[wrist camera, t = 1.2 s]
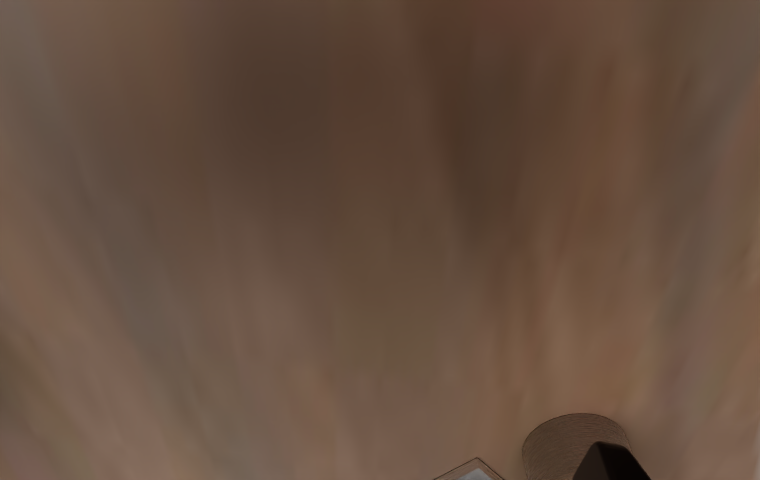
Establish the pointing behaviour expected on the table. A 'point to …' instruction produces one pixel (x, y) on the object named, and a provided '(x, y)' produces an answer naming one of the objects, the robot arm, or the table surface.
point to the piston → (566, 444)
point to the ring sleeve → (471, 472)
